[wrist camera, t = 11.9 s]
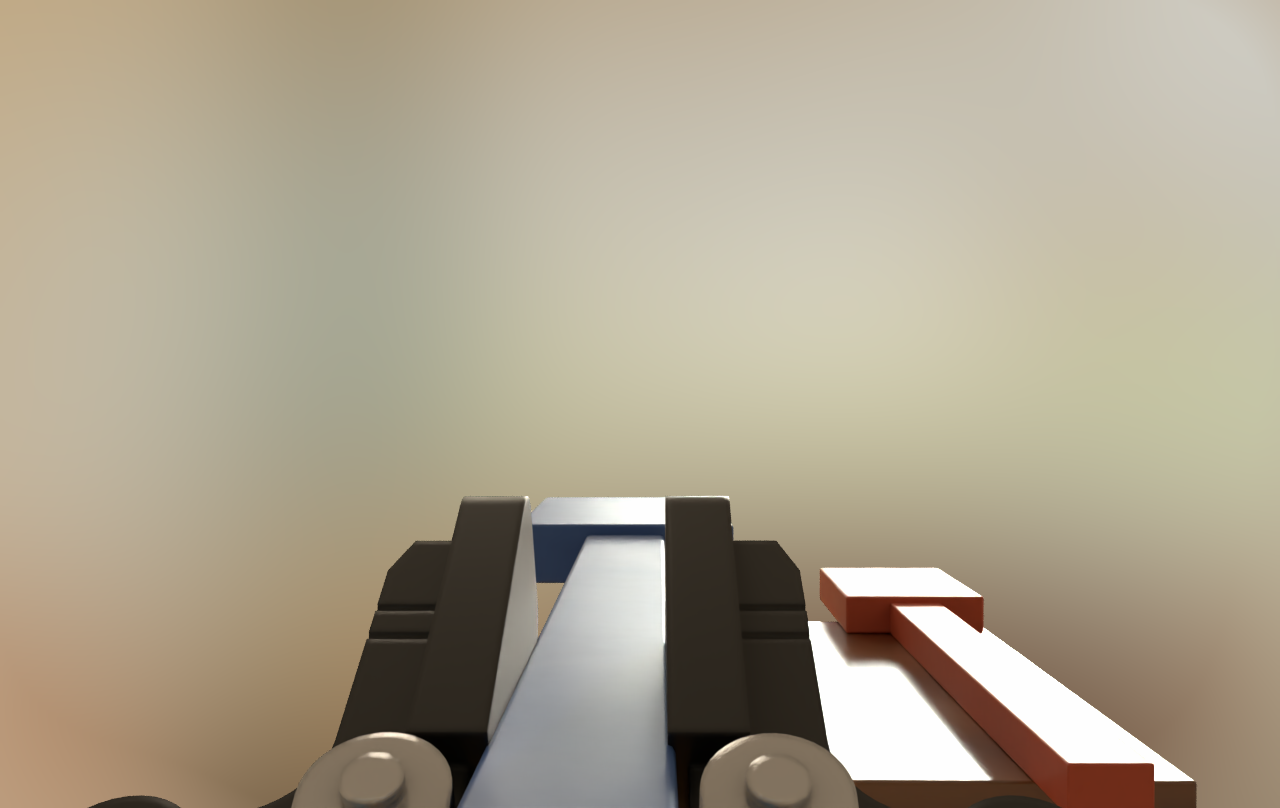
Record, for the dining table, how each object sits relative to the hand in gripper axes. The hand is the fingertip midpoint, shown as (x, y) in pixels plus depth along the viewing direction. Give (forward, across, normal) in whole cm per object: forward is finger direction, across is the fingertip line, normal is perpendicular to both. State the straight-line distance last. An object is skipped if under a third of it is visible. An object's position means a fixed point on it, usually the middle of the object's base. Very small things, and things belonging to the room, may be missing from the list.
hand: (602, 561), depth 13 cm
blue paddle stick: (+5, 0, -5) cm, 7 cm away
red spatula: (+14, +9, -15) cm, 23 cm away
